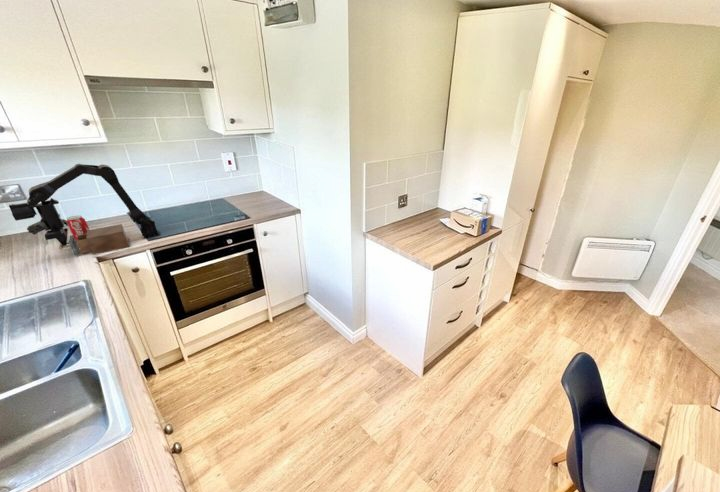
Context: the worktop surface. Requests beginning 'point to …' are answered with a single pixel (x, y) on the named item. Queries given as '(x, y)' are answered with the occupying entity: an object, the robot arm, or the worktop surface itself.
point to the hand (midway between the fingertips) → (65, 245)
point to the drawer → (78, 244)
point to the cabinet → (107, 239)
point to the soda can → (77, 225)
